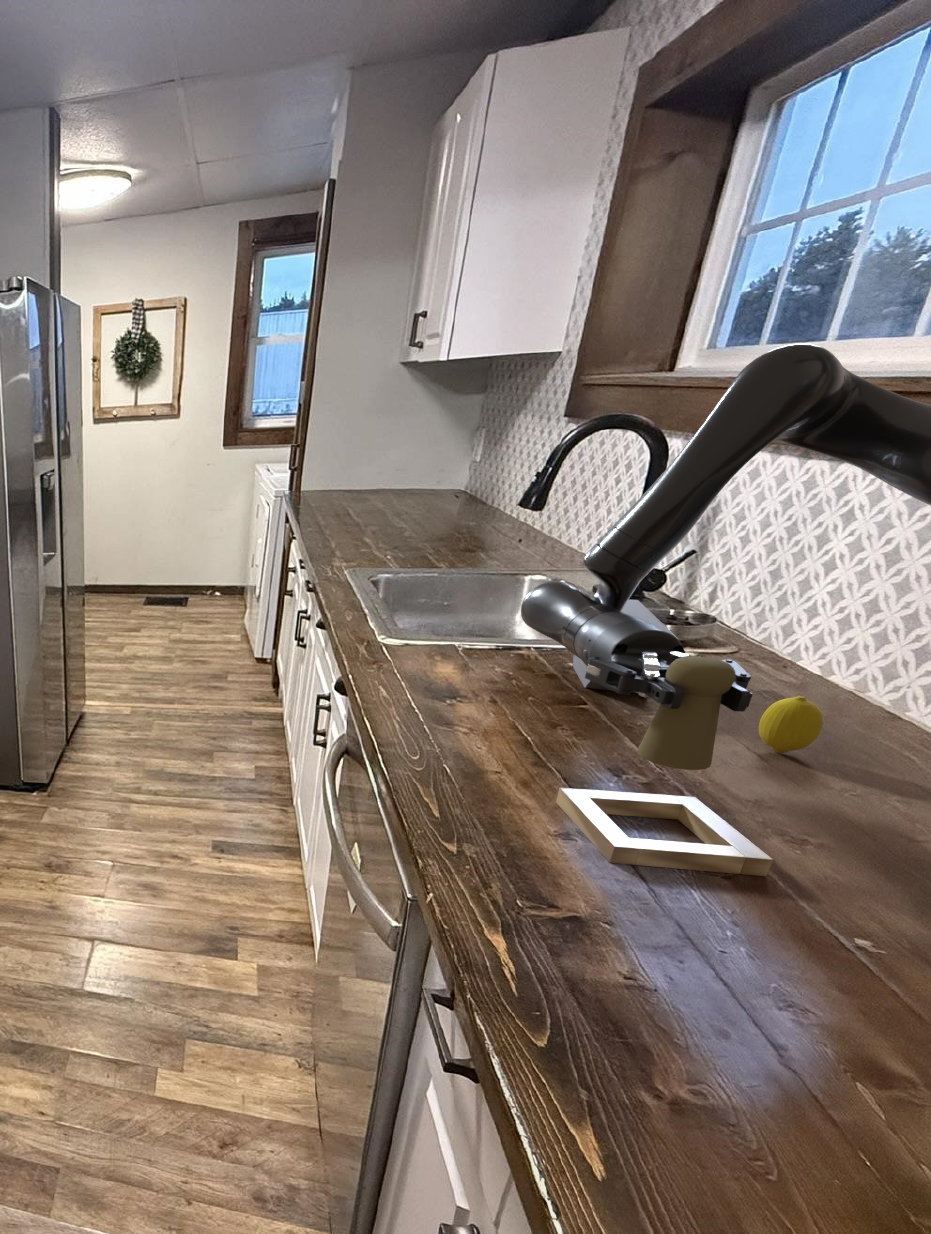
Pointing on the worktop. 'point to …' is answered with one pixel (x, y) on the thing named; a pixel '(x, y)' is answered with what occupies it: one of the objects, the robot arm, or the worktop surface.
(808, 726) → the lemon
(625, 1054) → the worktop surface
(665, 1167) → the worktop surface
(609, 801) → the wooden frame
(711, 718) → the cork
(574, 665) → the grey slotted holder
